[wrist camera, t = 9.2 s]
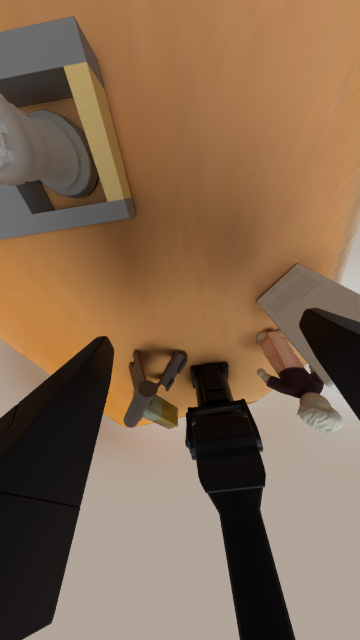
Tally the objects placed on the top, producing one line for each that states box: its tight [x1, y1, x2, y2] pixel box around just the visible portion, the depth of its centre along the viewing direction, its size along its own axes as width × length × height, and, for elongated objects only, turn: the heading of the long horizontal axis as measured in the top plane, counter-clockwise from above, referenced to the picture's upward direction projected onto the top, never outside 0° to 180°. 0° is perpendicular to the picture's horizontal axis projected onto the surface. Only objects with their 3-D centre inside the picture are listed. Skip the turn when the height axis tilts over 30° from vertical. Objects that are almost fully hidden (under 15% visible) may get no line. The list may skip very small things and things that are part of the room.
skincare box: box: [257, 264, 360, 394], centre depth 16 cm, size 6×4×12 cm
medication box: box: [133, 391, 178, 429], centre depth 34 cm, size 12×3×4 cm, turn 34°
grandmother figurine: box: [256, 329, 343, 433], centre depth 20 cm, size 8×4×13 cm, turn 106°
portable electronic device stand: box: [124, 350, 187, 428], centre depth 25 cm, size 9×8×8 cm
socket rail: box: [0, 16, 136, 239], centre depth 12 cm, size 8×16×3 cm, turn 97°
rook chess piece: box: [0, 93, 98, 198], centre depth 9 cm, size 4×4×8 cm
